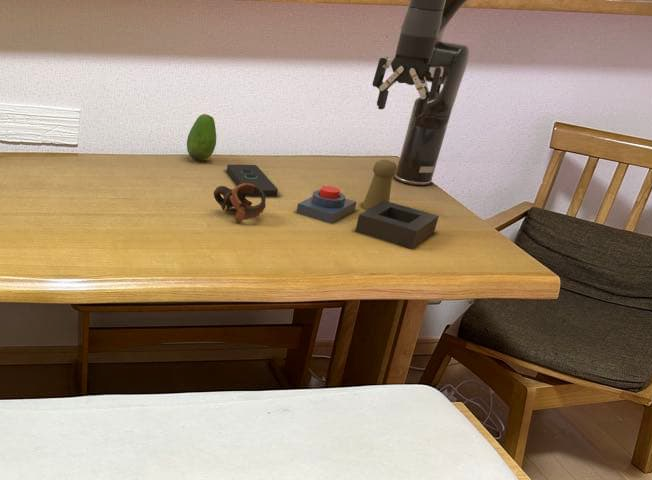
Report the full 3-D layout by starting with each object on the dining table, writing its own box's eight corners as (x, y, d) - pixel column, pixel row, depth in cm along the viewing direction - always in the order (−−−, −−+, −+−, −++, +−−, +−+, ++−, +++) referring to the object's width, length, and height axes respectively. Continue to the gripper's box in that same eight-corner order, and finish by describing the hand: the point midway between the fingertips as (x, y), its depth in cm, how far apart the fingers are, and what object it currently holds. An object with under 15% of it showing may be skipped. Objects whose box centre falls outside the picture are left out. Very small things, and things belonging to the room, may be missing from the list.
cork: (389, 213, 177) (401, 166, 171) (363, 210, 178) (374, 163, 171) (387, 204, 182) (399, 158, 175) (361, 201, 183) (372, 156, 176)
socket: (379, 217, 174) (383, 200, 172) (433, 232, 168) (439, 215, 166) (354, 231, 166) (359, 214, 164) (411, 248, 159) (416, 230, 157)
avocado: (215, 165, 200) (220, 118, 193) (185, 163, 200) (190, 116, 193) (212, 156, 207) (218, 111, 200) (184, 154, 207) (188, 109, 200)
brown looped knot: (261, 211, 174) (273, 187, 167) (251, 241, 170) (263, 218, 163) (212, 192, 174) (223, 167, 167) (201, 221, 170) (212, 197, 162)
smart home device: (256, 164, 197) (279, 190, 181) (255, 170, 198) (278, 197, 182) (226, 163, 196) (246, 189, 180) (225, 170, 197) (245, 196, 181)
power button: (324, 191, 176) (326, 184, 175) (341, 196, 174) (343, 189, 173) (315, 196, 173) (317, 188, 172) (333, 201, 171) (334, 193, 170)
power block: (320, 200, 182) (323, 184, 179) (354, 210, 177) (358, 194, 175) (296, 212, 174) (299, 195, 171) (331, 223, 169) (335, 206, 167)
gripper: (459, 36, 157) (436, 116, 166) (394, 26, 164) (376, 104, 173) (446, 38, 152) (423, 121, 161) (380, 28, 159) (362, 108, 168)
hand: (399, 112), depth 167 cm, fingers open, 8 cm apart
